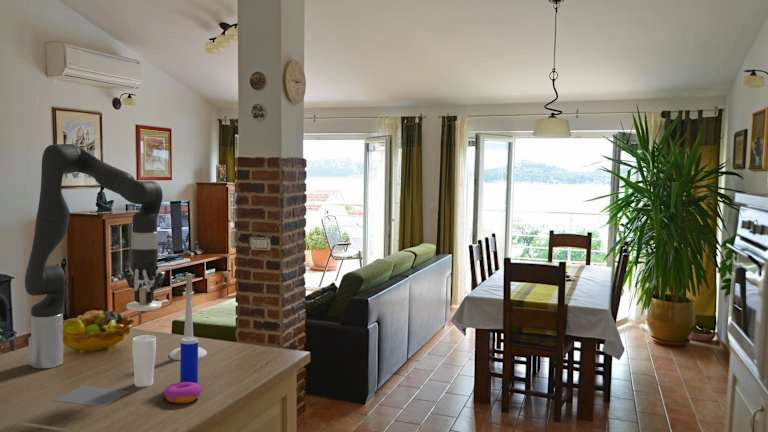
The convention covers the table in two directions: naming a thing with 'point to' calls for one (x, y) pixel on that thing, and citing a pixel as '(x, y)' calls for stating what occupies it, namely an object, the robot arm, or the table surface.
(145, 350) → the drinking glass
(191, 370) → the beverage can
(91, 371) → the table surface
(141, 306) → the lid
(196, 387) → the donut
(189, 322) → the candlestick
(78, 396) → the mat
